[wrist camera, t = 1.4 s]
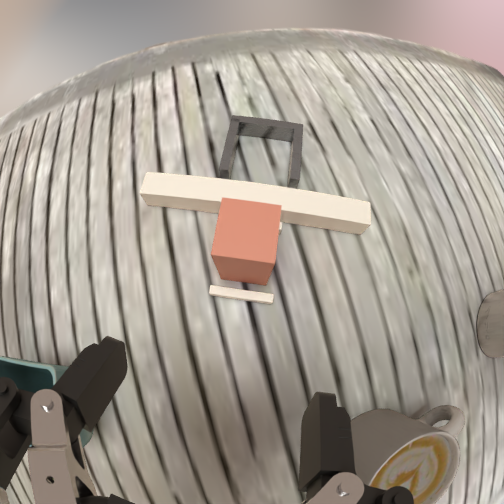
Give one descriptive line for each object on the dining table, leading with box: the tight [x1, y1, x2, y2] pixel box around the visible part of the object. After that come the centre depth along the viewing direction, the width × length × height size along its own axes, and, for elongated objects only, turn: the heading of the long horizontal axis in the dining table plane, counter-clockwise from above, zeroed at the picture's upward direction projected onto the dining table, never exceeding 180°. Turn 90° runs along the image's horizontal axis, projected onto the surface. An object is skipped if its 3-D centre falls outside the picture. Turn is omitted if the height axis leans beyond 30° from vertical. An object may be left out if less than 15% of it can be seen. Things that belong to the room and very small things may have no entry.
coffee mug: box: [351, 405, 465, 504], centre depth 19 cm, size 13×10×10 cm
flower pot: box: [0, 356, 94, 448], centre depth 20 cm, size 9×9×9 cm
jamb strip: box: [140, 172, 371, 304], centre depth 28 cm, size 24×11×3 cm, turn 82°
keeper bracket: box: [219, 115, 303, 189], centre depth 32 cm, size 8×8×2 cm
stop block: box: [211, 197, 282, 285], centre depth 25 cm, size 4×4×9 cm
